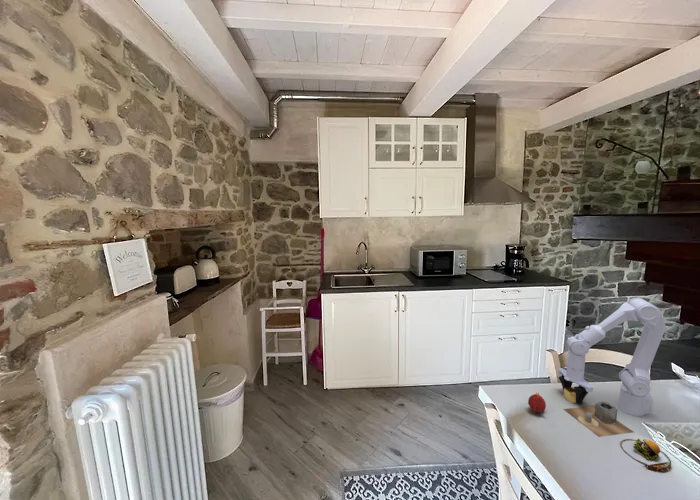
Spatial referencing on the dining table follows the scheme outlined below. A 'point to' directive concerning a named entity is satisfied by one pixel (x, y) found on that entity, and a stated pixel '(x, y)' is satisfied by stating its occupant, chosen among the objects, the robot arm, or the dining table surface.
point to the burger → (650, 454)
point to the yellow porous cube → (570, 394)
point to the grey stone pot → (605, 412)
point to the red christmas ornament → (537, 403)
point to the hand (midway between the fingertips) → (572, 398)
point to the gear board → (596, 422)
